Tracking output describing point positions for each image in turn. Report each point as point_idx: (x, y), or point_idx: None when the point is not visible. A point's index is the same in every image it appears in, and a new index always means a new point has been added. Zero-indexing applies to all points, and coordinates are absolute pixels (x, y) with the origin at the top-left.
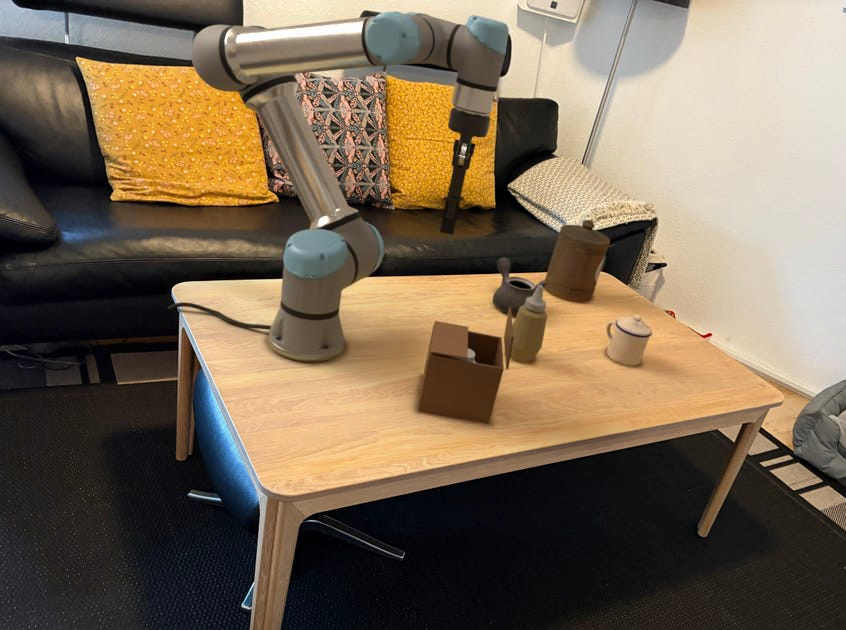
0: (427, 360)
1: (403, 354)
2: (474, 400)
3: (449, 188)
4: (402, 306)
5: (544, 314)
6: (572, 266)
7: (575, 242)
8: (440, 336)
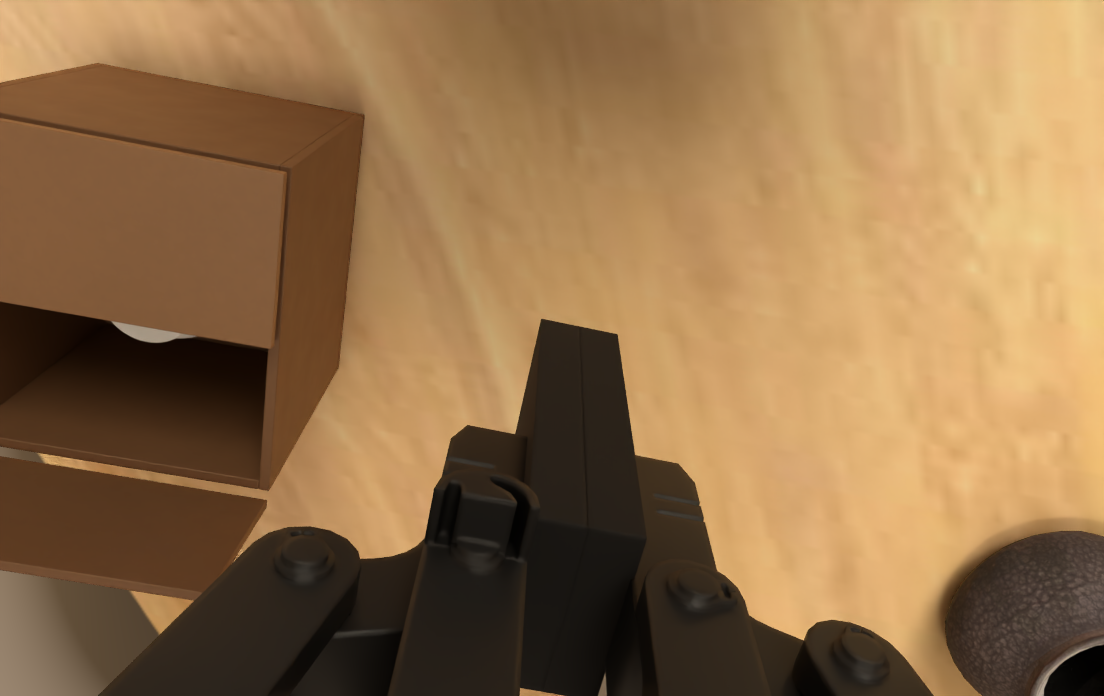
0: (98, 106)
1: (542, 45)
2: None
3: (108, 688)
4: (1043, 87)
5: None
6: None
7: None
8: (101, 181)
